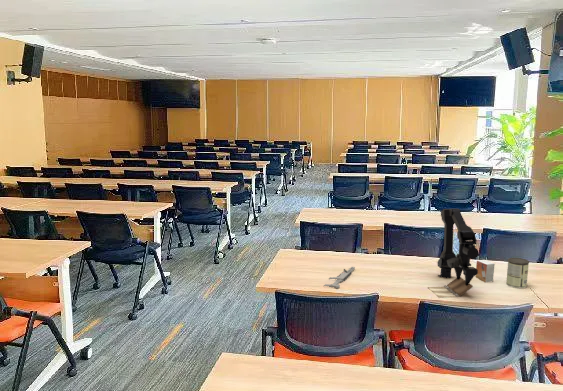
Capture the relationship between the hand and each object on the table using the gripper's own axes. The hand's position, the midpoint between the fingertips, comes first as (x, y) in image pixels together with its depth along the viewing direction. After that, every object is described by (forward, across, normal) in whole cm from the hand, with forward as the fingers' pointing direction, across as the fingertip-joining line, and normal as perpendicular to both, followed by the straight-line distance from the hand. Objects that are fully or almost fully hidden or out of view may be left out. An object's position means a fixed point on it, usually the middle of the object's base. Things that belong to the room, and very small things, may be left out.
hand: (462, 282), depth 253 cm
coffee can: (+6, -8, +36) cm, 37 cm away
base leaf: (+6, 0, -10) cm, 12 cm away
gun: (+7, -30, -57) cm, 65 cm away
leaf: (+3, 0, -2) cm, 4 cm away
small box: (+6, -18, +22) cm, 29 cm away
